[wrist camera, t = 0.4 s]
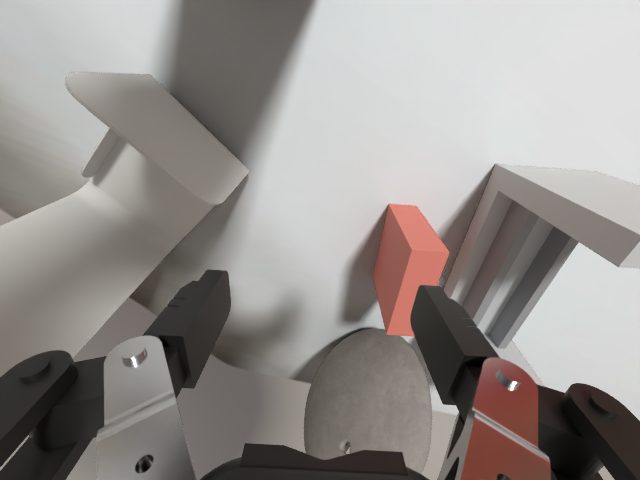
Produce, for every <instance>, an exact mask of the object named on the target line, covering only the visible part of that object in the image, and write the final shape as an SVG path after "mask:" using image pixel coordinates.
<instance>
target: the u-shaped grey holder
mask: <svg viewBox="0 0 640 480" xmlns="http://www.w3.org/2000/svg"><path fill="white" fill-rule="evenodd" d="M578 242H580V243H581V244H583V245H585V246H586V247H588V248H589V249H591V250H592V251H594V252H595V253H597V254H599V255H600V256H602V257H603V258H605V259H606V260H608V261H610V262H611V263H613V264H614V265H616V266H617V267H624V268H639V269H640V186H639V185H636V184H633V183H630V182H627V181H624V180H621V179H618V178H615V177H612V176H609V175H606V174H603V173H600V172H597V171H588V170H574V169H561V168H547V167H534V166H520V165H506V164H495V166H494V169H493V171H492V173H491V176H490V178H489V181H488V183H487V185H486V188H485V190H484V193H483V195H482V197H481V200H480V202H479V205H478V207H477V210H476V212H475V214H474V217H473V219H472V222H471V224H470V226H469V229H468V231H467V234H466V236H465V238H464V241H463V243H462V246H461V248H460V250H459V253H458V255H457V258H456V260H455V263H454V265H453V267H452V270H451V272H450V275H449V277H448V279H447V282H446V284H445V287H444V289H443V291H444V292H445V294H446V295H447V296H448V298H449V299H453V300H455V301H456V302H457V303H458V304H460V305H461V306H462V307H463V308H464V309H465V310H466V311H467V313H468V314H469V316H470V317H471V320H473V321H474V323H475V324H476V325H477V328H479V329H480V331H481V332H482V334H483V335H484V336H485V338H486V339H487V340H488V342H489V343H490V345H491V346H492V347H493V349H494V350H495V351H496V353H497V354H498V356H499V357H500V358H501V359H505V360H508V361H510V362H512V363H514V364H516V365H517V366H519V367H520V368H522V369H523V370H524V371H525V372H527V373H528V374H529V375H530V376H531V378H532V379H533V380H534V382H535V383H536V384H538V385H541V386H544V387H545V385H544V384H543V382H542V381H541V380H540V378H539V377H538V375H537V374H536V373H535V371H534V370H533V368H532V367H531V366H530V364H529V363H528V361H527V360H526V359H525V357H524V356H523V354H522V353H521V352H520V350H519V349H518V348H517V346H516V345H515V343H514V342H513V341H512V338H513V337H514V335H515V334H516V332H517V331H518V330H519V328H520V327H521V325H522V324H523V322H524V321H525V319H526V318H527V316H528V315H529V314H530V312H531V311H532V309H533V308H534V306H535V305H536V303H537V302H538V300H539V299H540V298H541V296H542V295H543V293H544V292H545V290H546V289H547V287H548V286H549V284H550V283H551V282H552V280H553V279H554V277H555V276H556V274H557V273H558V271H559V270H560V268H561V267H562V266H563V264H564V263H565V261H566V260H567V258H568V257H569V255H570V254H571V252H572V251H573V250H574V248H575V247H576V245H577V244H578Z"/></svg>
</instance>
